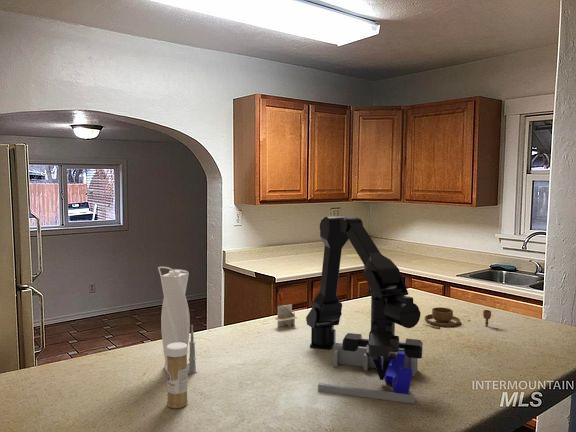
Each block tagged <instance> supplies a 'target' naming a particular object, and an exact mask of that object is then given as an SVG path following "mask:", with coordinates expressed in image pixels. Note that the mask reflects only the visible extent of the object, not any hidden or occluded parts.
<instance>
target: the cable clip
mask: <svg viewBox="0 0 576 432" xmlns="http://www.w3.org/2000/svg"><path fill="white" fill-rule="evenodd" d="M404 359H405V353H404V352H399V351H398V355H397V358H396V359H392V360H391V362H390V364H389V366H388V368H387V371H386V374H385V377H384V379H383V380H384V381H385V382H386V383H391V385H392V389H393V391H394V392H393V393H401V394H409V391H410V387H411V386H410V385H411V381H412V377H413V376H412V369H411V368H405V367H404Z"/></svg>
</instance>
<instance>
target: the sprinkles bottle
mask: <svg viewBox="0 0 576 432" xmlns="http://www.w3.org/2000/svg"><path fill="white" fill-rule="evenodd" d="M188 348H189V347H188ZM188 348H187V344H185V343H181V342H177V343H171V344H169V345H167V347H166V355H167V370H168V371H167V373H166V375H167V377H166V378H167V379H166V386H167V387H166V390H167V391H166V392H167V403H166V405H167V407H168V408H170V409H181V408H183V407H186V406H187V405H188V403H189V401H188V375H187V364H188V353H189V350H188Z"/></svg>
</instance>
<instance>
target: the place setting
mask: <svg viewBox="0 0 576 432" xmlns="http://www.w3.org/2000/svg"><path fill="white" fill-rule="evenodd" d="M482 312H483V313H482V316H483V318H484V319H485V321H484V324H485V325H484V327H486V328H489V320H490V319H491V317H492V311H491V310H489V309H484V310H483V311H482ZM430 319H433V320H435V321H432V320H430ZM424 321H425V323H427V324H422V326H423V325H424V326H427V327H430V328H432V329H440V328H441V327H443V328H452V327H457V326H459V325H460V323H461V319H460V318H459V317H458V316H455V315H454V310H453V309H451V308H449V307H440V306H439V307H433V308H432V309H431V314H430V313H429V314H427V315H425V316H424ZM450 321H453V323H452V322H450ZM454 321H455V322H454ZM471 321H472V320H471V319H469V320H467V322H471ZM449 322H450V323H449Z"/></svg>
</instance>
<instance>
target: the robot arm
mask: <svg viewBox="0 0 576 432" xmlns="http://www.w3.org/2000/svg"><path fill="white" fill-rule="evenodd" d="M319 230H320V231H319V236H320V238H321V239H320V240H321V241H322V243H323V245H324V248H323V249H324V250H323V259H322V267H321V268H322V269H321V278H320V287H319V293H317V295H316V296H315V298H314V299H313V302H312V306H311V309H310V311H309V312H308V314H307V315H306V317H305V321H306V325H307V326H309V327H311V328H310V329H311V332H310V334H311V335H310V336H311V337H310V338H311V341H310V344H309V347H310V348H316V349H324V350H332V349H333V348H334V344H335V343H337V342H336V341H337V340H336V337H337V335H336V333H337V332H336V329H335V326H339V325H340V321H341V316H342V315H343V313H342V309H343V303H342V302H341V301H340V299H339V297H338V296H337V294H338V286H339V285H338V284H339V276H340V268H341V266H340V265H341V259H342V249H343V247H344V246H345V245H346V244H347V242H348V241H349V242H350V243H351V245H352V247H353V249H354V250H355V252H356V253H357V254H358V256H359V258H360V261H361V262H362V264H363V266H364V269H363V275H364V278H365V280H366V283H367V285H368V286H369V288H370V289H368V290H367V291H366V294H367V296H370V299H371V300H370V331H369V333H368V339H367V338H363V335H362V334H361V333H355V332H354V333H352V332H348V333H347V334H346V335H345V336H344V337H343V339H342V350H344V351H354V352H355V351H356V350H357V349H358V346H359V347H366V349H367V352H366V355H367V356H370V357H371V358H372V360H373V361H374V364H375V366H376V368H375V369H376V372H377V375H378V378H379V380H380V381H384V380H385V379H384V377H385V374H386V371H387V368H388V366H389V364H390V362H391V360H392V359H396V358H397V355H398V351H405V355H406V356H407V357H410V358H418V360H419V359H420V360H421V359H422V358H423V348H424V347H423V346H424V345H423V344H424V343H423V341H422V340H421V339H414V338H413V339H412V338H406V339H405V341H404V342H405V343H400V342H401V341H400V336H399V335H396V333H395V332H396V324H397V325H398V326H401V327H402V328H405V329H412V328H414V327H416V325H417V324H419V322H420V319H421V311H420V308H419V306H418V305H417V304H416V303H414V297H413V296H409V291H408V289H407V288H408V287H407V284H406V283H405V281H404V279H403V276H402V274H401V272H400V269H399V267H398V266H397V264H395V263H394V262H393V261H392V259H390V258H388V257H387V256H385V255H384V254H382V253H381V251H380V250H379V248H378V247H377V245H376V244H375V242H374V241H373V238H371V236H370V234H369V233H368V231H367V230H366V228H365V227H364V223H363V220H362V219H361V218H359V217H347V216H344V215H337V216H336V215H335V216H334V215H333V216H324V217H323V218H322V219H321V221H320V223H319ZM381 357H384V362H383V369H382V360H381Z"/></svg>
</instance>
